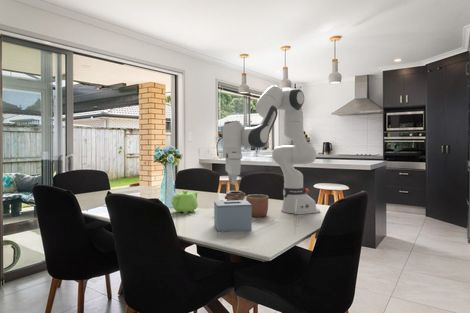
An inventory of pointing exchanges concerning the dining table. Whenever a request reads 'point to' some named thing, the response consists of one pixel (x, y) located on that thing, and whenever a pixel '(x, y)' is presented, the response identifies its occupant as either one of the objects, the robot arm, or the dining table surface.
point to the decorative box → (235, 195)
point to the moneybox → (232, 215)
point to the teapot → (185, 202)
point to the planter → (258, 204)
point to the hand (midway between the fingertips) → (232, 183)
